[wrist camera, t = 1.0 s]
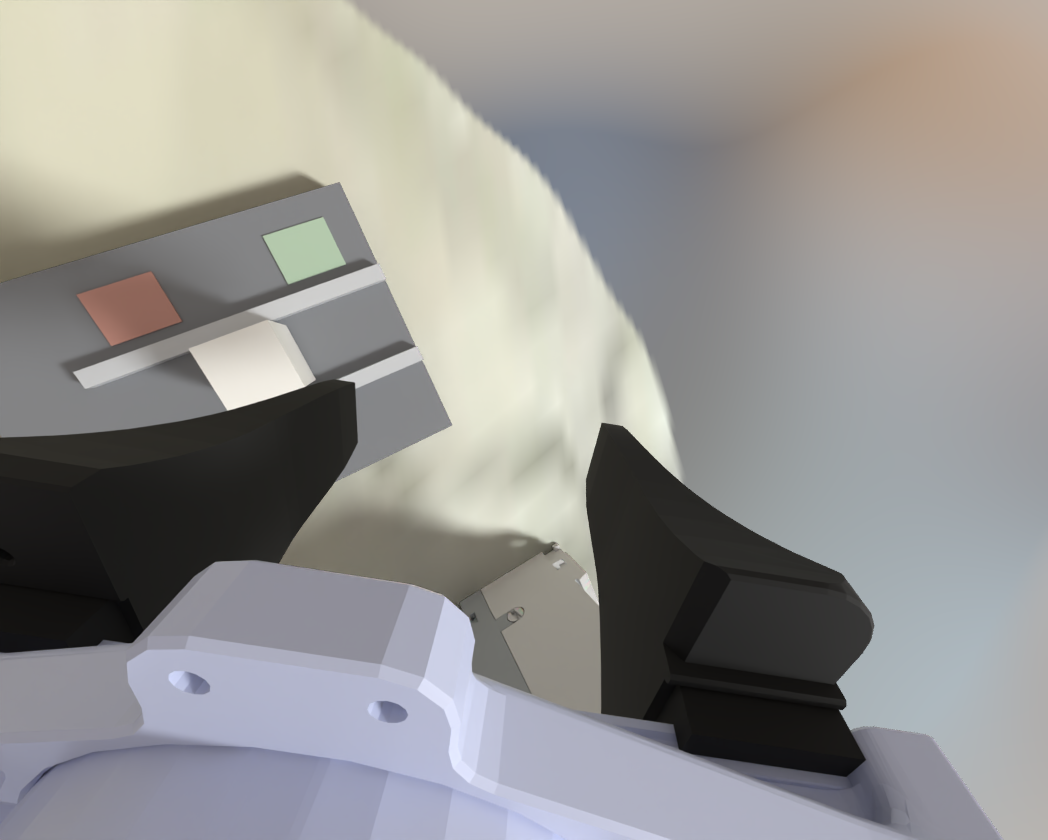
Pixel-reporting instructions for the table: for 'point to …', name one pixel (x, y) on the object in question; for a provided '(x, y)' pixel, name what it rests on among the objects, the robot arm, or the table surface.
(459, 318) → the table surface
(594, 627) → the circuit breaker
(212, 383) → the handle
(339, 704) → the robot arm
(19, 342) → the panel
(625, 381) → the table surface
